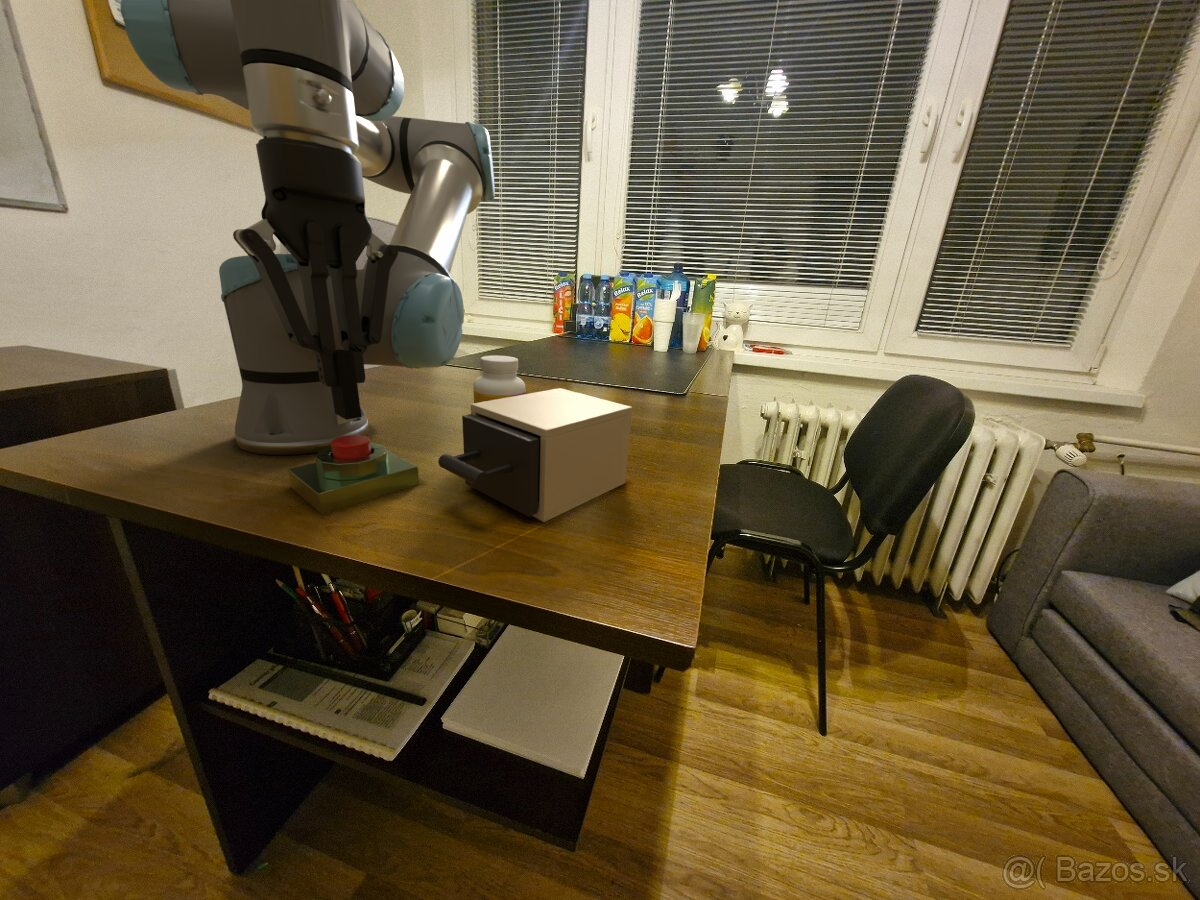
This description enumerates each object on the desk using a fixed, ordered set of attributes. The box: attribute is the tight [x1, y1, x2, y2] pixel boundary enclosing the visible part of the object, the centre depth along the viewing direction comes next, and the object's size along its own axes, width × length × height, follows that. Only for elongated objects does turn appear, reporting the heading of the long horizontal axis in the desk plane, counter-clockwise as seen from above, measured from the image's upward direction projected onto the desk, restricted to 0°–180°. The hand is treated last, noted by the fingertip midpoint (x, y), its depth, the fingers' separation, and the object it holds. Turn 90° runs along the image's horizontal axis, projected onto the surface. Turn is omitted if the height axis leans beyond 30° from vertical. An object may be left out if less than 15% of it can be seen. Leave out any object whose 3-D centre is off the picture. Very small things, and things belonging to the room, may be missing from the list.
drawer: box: [438, 413, 541, 518], centre depth 47 cm, size 17×10×8 cm, turn 141°
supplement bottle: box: [472, 355, 527, 404], centre depth 58 cm, size 7×7×13 cm
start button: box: [331, 435, 372, 460], centre depth 46 cm, size 4×4×2 cm
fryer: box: [470, 387, 633, 523], centre depth 50 cm, size 14×12×10 cm
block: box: [287, 441, 420, 515], centre depth 47 cm, size 8×10×4 cm
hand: (348, 415), depth 45 cm, fingers closed
